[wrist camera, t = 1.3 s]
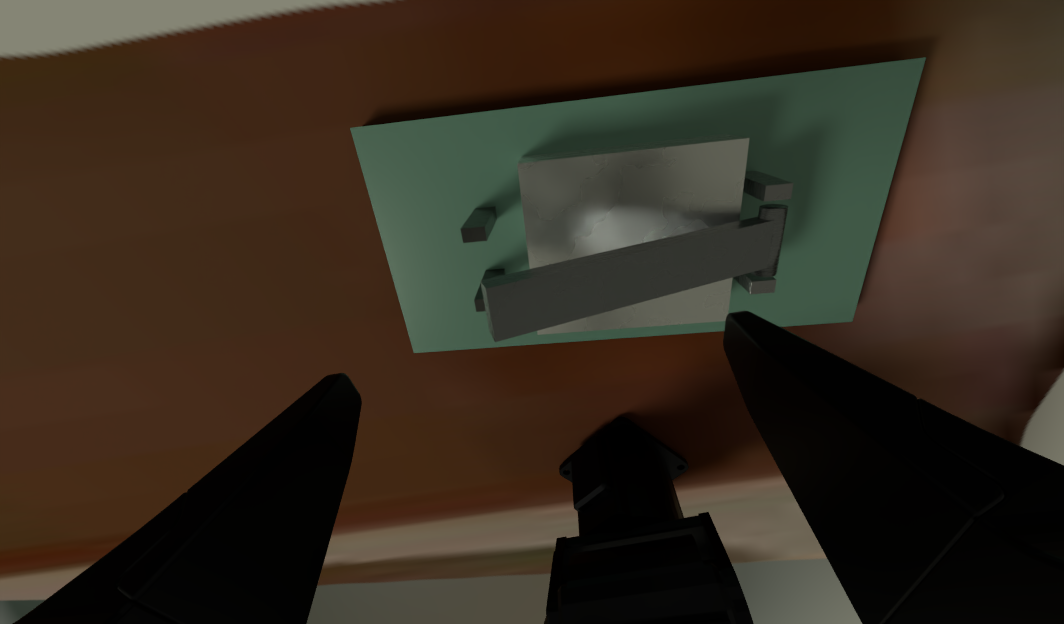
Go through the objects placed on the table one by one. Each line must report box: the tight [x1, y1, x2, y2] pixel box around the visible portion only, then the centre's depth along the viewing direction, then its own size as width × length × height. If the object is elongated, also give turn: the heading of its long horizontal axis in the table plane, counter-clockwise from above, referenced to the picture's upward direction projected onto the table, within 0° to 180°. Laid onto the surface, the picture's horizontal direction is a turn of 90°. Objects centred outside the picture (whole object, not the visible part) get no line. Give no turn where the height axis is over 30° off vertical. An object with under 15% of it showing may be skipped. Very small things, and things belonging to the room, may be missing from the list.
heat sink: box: [460, 134, 794, 335], centre depth 18 cm, size 13×8×4 cm, turn 96°
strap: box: [480, 204, 788, 342], centre depth 15 cm, size 12×3×1 cm, turn 97°
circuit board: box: [350, 57, 926, 353], centre depth 20 cm, size 24×12×1 cm, turn 96°
